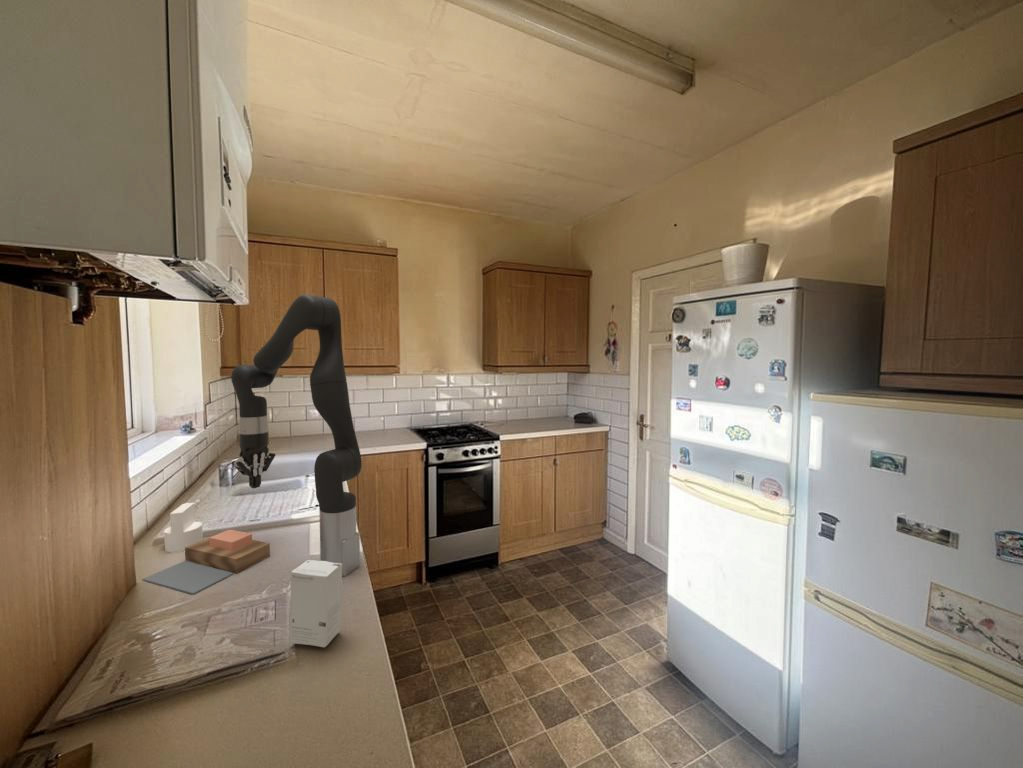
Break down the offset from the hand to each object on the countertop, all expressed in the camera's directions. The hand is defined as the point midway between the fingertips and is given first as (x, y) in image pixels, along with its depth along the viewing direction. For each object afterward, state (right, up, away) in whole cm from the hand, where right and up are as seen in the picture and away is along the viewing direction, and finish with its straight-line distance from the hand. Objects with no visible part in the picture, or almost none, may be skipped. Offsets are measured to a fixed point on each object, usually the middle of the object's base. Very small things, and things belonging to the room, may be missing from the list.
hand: (255, 487), depth 124 cm
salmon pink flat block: (-3, -15, -7) cm, 16 cm away
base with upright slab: (-22, -18, 0) cm, 28 cm away
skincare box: (+38, -21, -39) cm, 58 cm away
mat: (-7, -19, -17) cm, 27 cm away
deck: (-3, -19, -7) cm, 20 cm away
